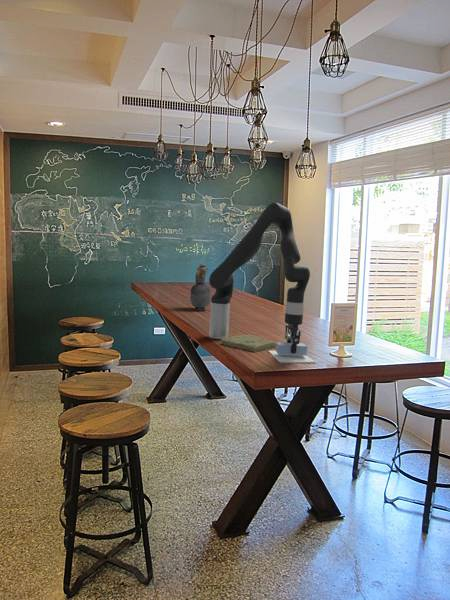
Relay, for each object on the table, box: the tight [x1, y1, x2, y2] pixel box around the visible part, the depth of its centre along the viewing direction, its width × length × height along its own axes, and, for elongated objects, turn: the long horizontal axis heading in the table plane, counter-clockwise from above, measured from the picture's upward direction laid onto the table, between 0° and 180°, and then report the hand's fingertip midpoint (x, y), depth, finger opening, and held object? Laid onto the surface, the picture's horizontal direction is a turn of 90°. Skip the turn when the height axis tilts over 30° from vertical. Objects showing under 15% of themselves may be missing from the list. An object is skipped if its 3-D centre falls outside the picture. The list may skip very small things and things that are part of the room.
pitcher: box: [189, 263, 212, 312], centre depth 343 cm, size 11×19×30 cm, turn 20°
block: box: [275, 341, 308, 356], centre depth 226 cm, size 12×6×4 cm, turn 95°
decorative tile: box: [220, 334, 277, 353], centre depth 245 cm, size 19×20×4 cm
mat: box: [267, 349, 316, 364], centre depth 226 cm, size 19×15×1 cm
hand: (291, 351), depth 226 cm, fingers closed on block, 5 cm apart
